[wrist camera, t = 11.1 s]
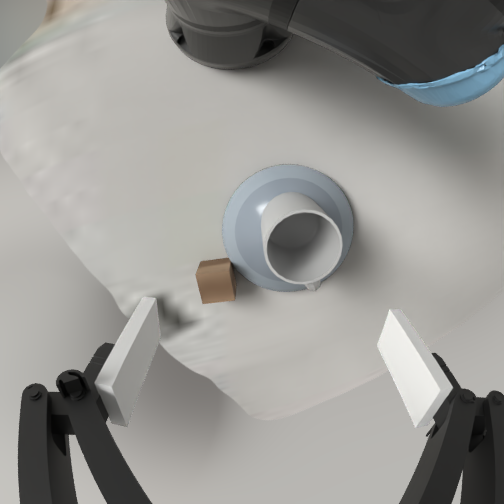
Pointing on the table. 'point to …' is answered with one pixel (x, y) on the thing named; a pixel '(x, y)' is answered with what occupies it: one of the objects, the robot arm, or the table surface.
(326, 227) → the cup
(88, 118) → the table surface
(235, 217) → the dish
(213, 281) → the walnut block
